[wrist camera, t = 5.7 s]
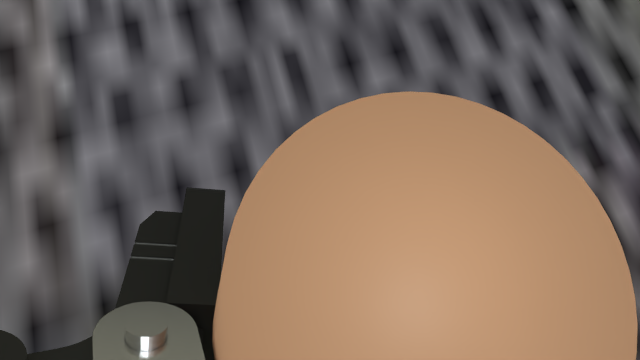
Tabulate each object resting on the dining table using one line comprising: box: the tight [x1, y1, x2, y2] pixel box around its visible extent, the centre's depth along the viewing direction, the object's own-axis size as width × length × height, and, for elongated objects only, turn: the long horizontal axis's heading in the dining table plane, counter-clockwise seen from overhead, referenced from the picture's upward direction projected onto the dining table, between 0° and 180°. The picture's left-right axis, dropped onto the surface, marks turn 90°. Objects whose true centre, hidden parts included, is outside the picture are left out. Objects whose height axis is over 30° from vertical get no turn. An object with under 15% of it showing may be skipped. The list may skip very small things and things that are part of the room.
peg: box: [212, 92, 637, 360], centre depth 11 cm, size 4×4×12 cm
